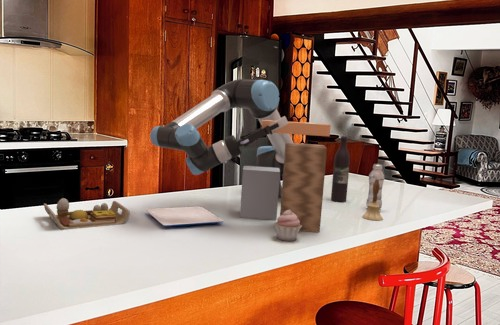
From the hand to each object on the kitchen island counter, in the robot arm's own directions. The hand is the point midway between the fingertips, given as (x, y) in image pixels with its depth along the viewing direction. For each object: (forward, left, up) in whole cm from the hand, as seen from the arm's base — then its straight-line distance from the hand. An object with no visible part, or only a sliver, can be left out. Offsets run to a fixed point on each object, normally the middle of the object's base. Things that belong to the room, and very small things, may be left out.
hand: (286, 119), depth 180 cm
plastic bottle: (+13, +55, -39) cm, 69 cm away
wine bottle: (-6, +59, -39) cm, 71 cm away
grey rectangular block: (-14, +6, -39) cm, 41 cm away
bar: (+3, +2, -5) cm, 6 cm away
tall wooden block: (+6, +4, -39) cm, 39 cm away
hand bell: (+19, +40, -39) cm, 59 cm away
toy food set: (-49, -47, -39) cm, 78 cm away
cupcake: (+11, -12, -39) cm, 42 cm away
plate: (-28, -21, -39) cm, 52 cm away
